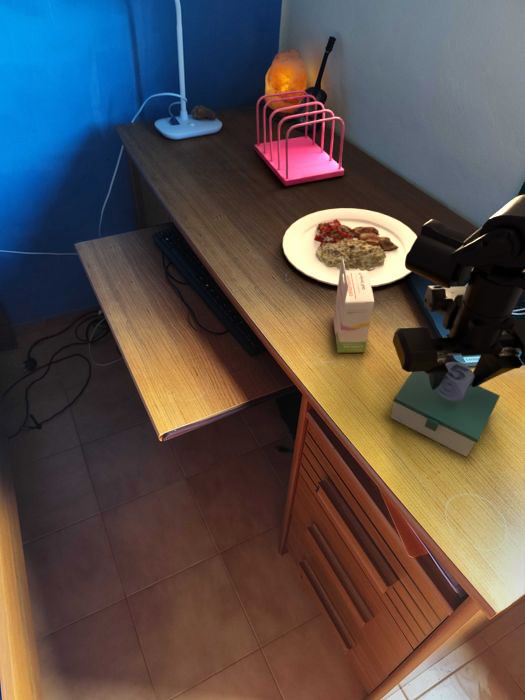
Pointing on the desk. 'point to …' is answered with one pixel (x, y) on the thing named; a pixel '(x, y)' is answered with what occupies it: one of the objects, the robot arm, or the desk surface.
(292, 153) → the file sorter
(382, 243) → the plated food
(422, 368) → the robot arm
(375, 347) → the desk surface
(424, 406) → the box
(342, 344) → the ink box
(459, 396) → the decorative dice
